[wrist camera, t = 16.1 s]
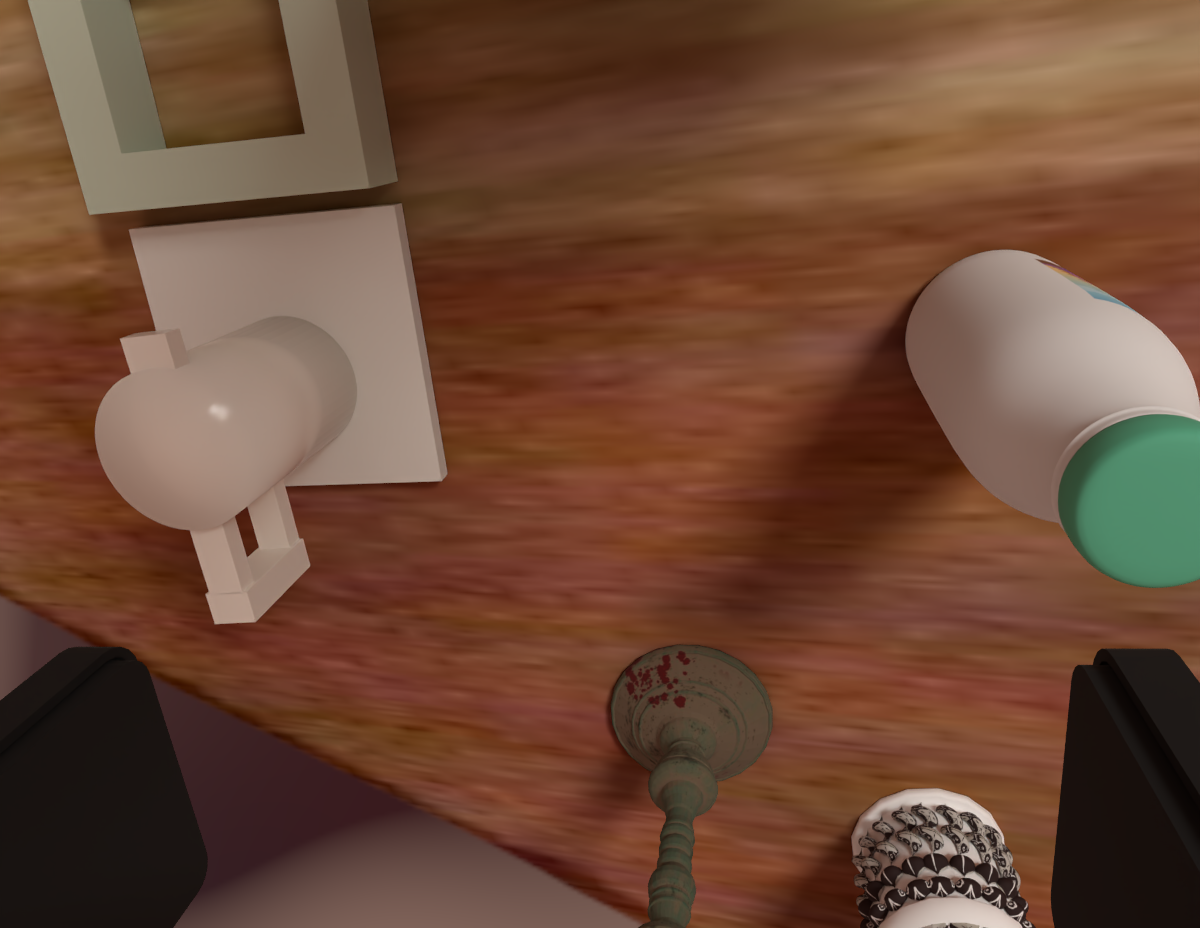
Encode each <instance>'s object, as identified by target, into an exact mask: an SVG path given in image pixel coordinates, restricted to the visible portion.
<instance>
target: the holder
mask: <svg viewBox="0 0 1200 928" xmlns="http://www.w3.org/2000/svg"><path fill="white" fill-rule="evenodd" d="M278 1H279V6H280V11H281V16H282V21H283V26H284V31H285V36H286V41H287V46H288V51H289V56H290V61H291V66H292V71H293V76H294V81H295V86H296V91H297V96H298V101H299V106H300V111H301V116H302V121H303V126H304V131H305V134H299V135H290V136H281V137H271V138H262V139H253V140H244V141H234V142H225V143H216V144H206V145H197V146H188V147H179V148H169V149H167V148H166V144H165V140H164V136H163V132H162V128H161V124H160V120H159V116H158V112H157V108H156V104H155V100H154V96H153V92H152V88H151V84H150V81H149V77H148V73H147V69H146V65H145V61H144V57H143V53H142V49H141V45H140V41H139V37H138V33H137V29H136V25H135V21H134V17H133V13H132V9H131V5H130V1H129V0H28V4H29V7H30V11H31V14H32V17H33V21H34V24H35V28H36V31H37V35H38V38H39V42H40V45H41V49H42V52H43V56H44V59H45V63H46V66H47V70H48V73H49V77H50V80H51V84H52V87H53V91H54V94H55V98H56V101H57V105H58V108H59V112H60V115H61V119H62V122H63V126H64V129H65V133H66V136H67V139H68V143H69V146H70V150H71V153H72V157H73V160H74V164H75V167H76V171H77V174H78V178H79V181H80V185H81V188H82V192H83V195H84V199H85V202H86V206H87V209H88V213H89V215H92V214H103V213H114V212H124V211H135V210H145V209H156V208H166V207H177V206H187V205H198V204H208V203H219V202H230V201H240V200H251V199H261V198H272V197H282V196H293V195H303V194H314V193H325V192H335V191H346V190H356V189H367V188H373V187H377V186H381V185H385V184H389V183H393V182H398V178H397V172H396V166H395V160H394V154H393V149H392V143H391V137H390V131H389V125H388V119H387V113H386V107H385V101H384V95H383V90H382V84H381V78H380V72H379V66H378V60H377V54H376V48H375V42H374V36H373V30H372V25H371V19H370V13H369V7H368V1H367V0H278Z"/></svg>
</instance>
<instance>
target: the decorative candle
mask: <svg viewBox="0 0 1200 928" xmlns="http://www.w3.org/2000/svg"><path fill="white" fill-rule="evenodd" d="M851 839H852V849H853V856H852V862H853V864H854V865H856V867H857V868H858V870H859V871H860V874H857V875H855V877H854V883H855V885H856V886H857V887H859V888H863V889H864V890H865V892H864V894H863V895H860V896H858V897H857V899H856V903H857V905H858V909H859V912H860V914H861V916H862V917H864V918H865V919H863V921H862V922H861V925H860V928H1036V927H1035V926H1034V925H1033V924H1032V923H1031V922H1029V921H1027V920H1026V919H1025V918H1026V913H1027V912H1028V903H1027V902H1026V901H1025V900H1024V899H1023V898H1022V897H1020V893H1019V891H1018V889H1019V887H1020V876H1019V874H1018V873H1017V871H1016V870H1015V869H1014V868H1013V867H1012V866H1011V865H1012V861H1013V857H1012V854H1011V852H1010V850H1009V849H1008V848H1007V847H1006V846H1005V845H1004V836H1003V834H1002V832H1001V830H1000V828H999V827H998V825H997V823H996V822H995V820H994V818H993V817H992V815H991V813H990V812H989V811H987V810H986V809H984V808H983V807H982V806H980V805H979V804H977V803H976V802H975V801H973V800H972V799H970V798H969V797H967V796H964V795H961V794H957V793H954V792H950V791H947V790H943V789H940V788H922V789H906V790H903V791H900V792H897V793H895V794H892V795H889V796H886V797H884V798H881V799H879V800H878V801H877V802H876V803H875V804H873V805H872V806H871V807H870V808H869V809H868V810H866V811H865V812H864V813H863V814H862V815H861V816H860V818H859V820H858V822H857V825H856V827H855V829H854V832H853V834H852V836H851Z"/></svg>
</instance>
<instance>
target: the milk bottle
mask: <svg viewBox="0 0 1200 928" xmlns="http://www.w3.org/2000/svg"><path fill="white" fill-rule="evenodd" d="M905 348H906V356H907V360H908V364H909V367H910V369H911V372H912V374H913V377H914V379H915V381H916V383H917V385H918V387H919V389H920V390H921V392H922V394H923V396H924V398H925V400H926V401H927V403H928V405H929V407H930V409H931V411H932V412H933V414H934V416H935V418H936V420H937V421H938V423H939V425H940V426H941V428H942V430H943V432H944V433H945V435H946V437H947V438H948V440H949V442H950V444H951V445H952V447H953V448H954V450H955V452H956V453H957V455H958V456H959V457H960V459H961V460H962V462H963V463H964V465H965V466H966V467H967V469H968V470H969V471H970V473H971V474H972V475H973V476H974V477H975V478H976V479H977V480H978V482H979V483H981V484H982V485H983V486H984V487H985V488H986V489H987V490H988V491H989V492H990V493H992V494H993V495H994V496H995V497H997V498H998V499H1000V500H1001V501H1003V502H1004V503H1006V504H1008V505H1009V506H1011V507H1013V508H1015V509H1017V510H1019V511H1021V512H1023V513H1026V514H1028V515H1031V516H1034V517H1036V518H1040V519H1043V520H1047V521H1052V522H1057V523H1059V524H1060V526H1061V527H1062V529H1063V530H1064V531H1065V532H1066V534H1067V535H1068V537H1069V539H1070V540H1071V542H1072V544H1073V545H1074V546H1075V548H1076V549H1077V550H1078V551H1079V553H1080V554H1081V555H1082V556H1083V557H1084V558H1085V559H1086V560H1087V562H1088V563H1089V564H1091V565H1092V566H1093V567H1094V568H1096V569H1097V570H1099V571H1100V572H1102V573H1103V574H1105V575H1107V576H1109V577H1111V578H1113V579H1115V580H1117V581H1120V582H1123V583H1126V584H1129V585H1134V586H1139V587H1149V588H1163V587H1172V586H1178V585H1182V584H1186V583H1190V582H1193V581H1196V580H1198V579H1200V404H1199V398H1198V393H1197V389H1196V385H1195V382H1194V379H1193V377H1192V374H1191V372H1190V370H1189V368H1188V366H1187V364H1186V362H1185V360H1184V359H1183V357H1182V355H1181V354H1180V352H1179V351H1178V350H1177V348H1176V347H1175V346H1174V345H1173V344H1172V342H1171V341H1170V340H1169V339H1168V338H1167V337H1166V336H1165V335H1164V334H1163V332H1162V331H1161V330H1159V329H1158V328H1157V327H1156V326H1155V325H1154V324H1152V323H1151V322H1150V321H1148V320H1147V319H1145V318H1144V317H1143V316H1141V315H1140V314H1138V313H1137V312H1136V311H1134V310H1133V309H1131V308H1130V307H1129V306H1127V305H1125V304H1124V303H1122V302H1121V301H1119V300H1117V299H1116V298H1114V297H1112V296H1111V295H1109V294H1107V293H1106V292H1104V291H1102V290H1101V289H1099V288H1097V287H1096V286H1094V285H1092V284H1090V283H1089V282H1087V281H1085V280H1083V279H1082V278H1080V277H1078V276H1076V275H1075V274H1073V273H1071V272H1069V271H1067V270H1066V269H1064V268H1062V267H1060V266H1059V265H1057V264H1055V263H1053V262H1051V261H1049V260H1047V259H1044V258H1042V257H1040V256H1037V255H1035V254H1031V253H1028V252H1023V251H1017V250H994V251H987V252H982V253H979V254H975V255H972V256H970V257H967V258H964V259H962V260H960V261H958V262H956V263H955V264H953V265H951V266H950V267H948V268H947V269H945V270H944V271H943V272H941V273H940V274H939V275H938V276H937V277H935V278H934V279H933V280H932V281H931V282H930V283H929V285H928V286H927V287H926V288H925V289H924V291H923V292H922V293H921V295H920V296H919V298H918V299H917V301H916V303H915V305H914V307H913V309H912V312H911V314H910V317H909V320H908V324H907V329H906V338H905Z"/></svg>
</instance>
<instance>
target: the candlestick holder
mask: <svg viewBox="0 0 1200 928" xmlns="http://www.w3.org/2000/svg"><path fill="white" fill-rule="evenodd" d="M611 714H612V724H613V727H614V730H615V732H616V735H617V737H618V740H619V742H620V743H621V744H622V746H623V747H624V748H625V750H626V751H627V752H628V754H629V755H630V756H631V757H632V758H633V759H634V760H636V761H637V762H638V763H639V764H640V765H642V766H643V767H644V768H645V769H647V770H649V771H651V772H652V773H651V775H650V778H649V781H648V787H649V793H650V796H651V798H652V800H653V802H654V803H655V804H656V805H657V806H658V807H659V808H660V809H661V810H662V811H664V812H665V814H666V822H665V824H664V825H663V828H662V831H661V834H660V841H661V844H660V847H659V858H658V861H657V869H656V870H655V871H654V872H653V873H652V875H651V878H650V880H649V883H648V894H649V898H650V899H649V907H648V916H649V918H650V920H651V922H648V923H645V924H643V925H641V926H640V927H639V928H685V927H686V926H687V924H688V923H689V921H690V918H691V912H690V911H691V905H692V904H693V901H694V898H695V894H696V887H695V882H694V879H693V877H692V875H691V869H692V864H691V860H692V856H693V848H692V847H693V846H694V843H695V838H694V830H693V826H692V822H693V820H694V818H695V817H696V816H699V815H701V814H704V813H705V812H707V811H708V810H709V809H710V808H711V807H712V805H713V804H714V803H715V801H716V798H717V794H718V785H717V781H723V780H725V779H728V778H730V777H732V776H735V775H737V774H740V773H741V772H743V771H744V770H745V769H747V768H748V767H749V766H751V765H752V764H753V763H754V762H756V760H757V759H758V757H759V756H760V755H761V753H762V752H763V751H764V749H765V748H766V746H767V743H768V740H769V737H770V733H771V730H772V706H771V703H770V700H769V697H768V694H767V691H766V689H765V688H764V687H763V685H762V684H761V682H760V681H759V679H758V678H757V676H756V675H755V674H754V673H753V672H752V671H751V670H750V669H749V668H747V667H746V666H745V665H744V664H743V663H742V662H740V661H739V660H737V659H735V658H733V657H731V656H729V655H728V654H726V653H724V652H722V651H719V650H715V649H711V648H707V647H703V646H700V645H674V646H669V647H664V648H659V649H656V650H654V651H652V652H650V653H648V654H646V655H644V656H641V657H639V658H638V659H637V660H636V661H635V662H634V663H632V664H631V665H630V666H629V667H628V668H627V669H626V670H625V671H624V672H623V674H622V675H621V677H620V679H619V680H618V682H617V684H616V685H615V688H614V692H613V696H612V700H611Z"/></svg>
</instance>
